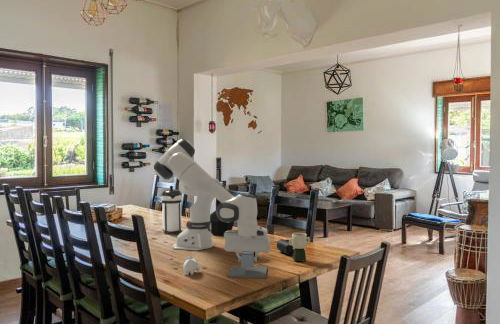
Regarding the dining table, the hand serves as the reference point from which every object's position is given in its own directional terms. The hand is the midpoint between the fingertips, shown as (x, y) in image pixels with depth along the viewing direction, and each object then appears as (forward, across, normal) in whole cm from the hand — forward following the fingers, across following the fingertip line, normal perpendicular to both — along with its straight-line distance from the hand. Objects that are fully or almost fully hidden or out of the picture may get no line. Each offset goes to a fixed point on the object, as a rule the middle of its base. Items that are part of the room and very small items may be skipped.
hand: (247, 261), depth 185 cm
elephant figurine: (+5, -25, -2) cm, 25 cm away
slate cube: (+2, 0, 0) cm, 2 cm away
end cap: (+5, +17, +33) cm, 38 cm away
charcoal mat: (+5, 0, 0) cm, 5 cm away
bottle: (+5, -25, +78) cm, 82 cm away
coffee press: (+5, -58, +82) cm, 101 cm away
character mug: (+5, +23, +20) cm, 31 cm away
